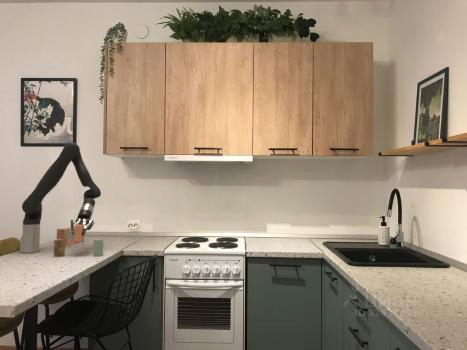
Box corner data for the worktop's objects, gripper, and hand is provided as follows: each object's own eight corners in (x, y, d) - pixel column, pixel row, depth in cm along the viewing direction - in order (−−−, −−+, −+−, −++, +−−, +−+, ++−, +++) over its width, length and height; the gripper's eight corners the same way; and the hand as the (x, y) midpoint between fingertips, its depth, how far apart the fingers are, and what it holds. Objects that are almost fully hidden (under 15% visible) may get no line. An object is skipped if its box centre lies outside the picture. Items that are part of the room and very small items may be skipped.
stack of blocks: (76, 241, 237) (77, 224, 238) (84, 241, 236) (84, 225, 237) (56, 246, 216) (56, 228, 217) (64, 247, 215) (65, 228, 216)
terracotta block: (73, 241, 187) (74, 225, 187) (76, 240, 191) (77, 224, 192) (81, 241, 187) (82, 225, 188) (83, 240, 192) (84, 224, 192)
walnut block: (53, 256, 185) (54, 240, 185) (56, 255, 189) (57, 239, 190) (61, 256, 186) (62, 240, 186) (64, 255, 190) (65, 239, 190)
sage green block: (93, 256, 188) (93, 240, 188) (95, 254, 192) (95, 239, 193) (100, 256, 188) (101, 240, 189) (102, 254, 193) (103, 238, 193)
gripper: (72, 208, 197) (63, 230, 184) (96, 209, 198) (89, 231, 186) (75, 216, 202) (66, 238, 189) (98, 216, 204) (91, 238, 191)
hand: (78, 234), depth 188 cm, fingers closed on terracotta block, 4 cm apart
